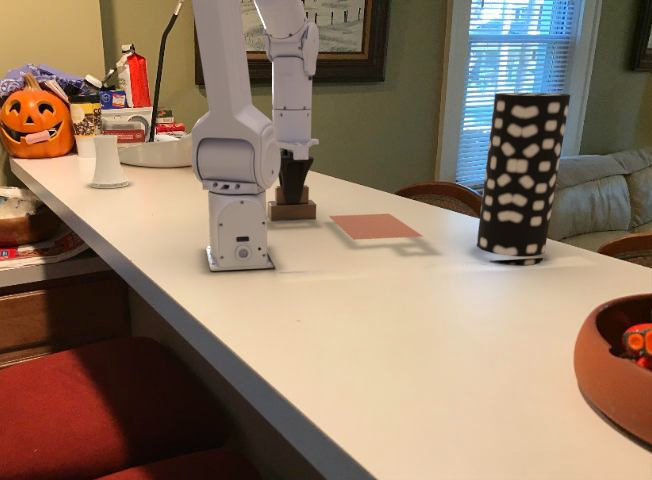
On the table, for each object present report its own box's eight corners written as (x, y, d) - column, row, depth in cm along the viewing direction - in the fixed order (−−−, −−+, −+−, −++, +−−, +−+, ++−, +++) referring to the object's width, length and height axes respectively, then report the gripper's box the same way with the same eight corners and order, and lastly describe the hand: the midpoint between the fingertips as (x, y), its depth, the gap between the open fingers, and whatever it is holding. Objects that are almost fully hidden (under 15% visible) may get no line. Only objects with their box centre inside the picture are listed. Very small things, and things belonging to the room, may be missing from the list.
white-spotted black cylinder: (500, 267, 75) (524, 96, 67) (463, 249, 82) (481, 93, 75) (557, 262, 77) (587, 95, 69) (516, 244, 84) (538, 92, 77)
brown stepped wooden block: (271, 228, 93) (271, 189, 91) (267, 223, 96) (267, 185, 94) (315, 226, 94) (316, 187, 92) (310, 221, 97) (311, 183, 95)
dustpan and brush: (190, 154, 170) (189, 119, 167) (254, 170, 145) (254, 129, 142) (111, 161, 158) (108, 124, 155) (166, 180, 133) (163, 135, 129)
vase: (85, 184, 128) (79, 135, 124) (118, 180, 132) (113, 133, 129) (101, 189, 122) (95, 138, 119) (134, 185, 127) (130, 136, 123)
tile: (422, 244, 84) (423, 236, 84) (353, 247, 83) (353, 239, 83) (388, 220, 97) (389, 213, 97) (328, 223, 96) (328, 215, 95)
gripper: (330, 112, 83) (327, 210, 88) (308, 105, 96) (306, 191, 101) (279, 112, 82) (279, 212, 87) (264, 106, 95) (264, 192, 100)
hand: (291, 201), depth 94 cm, fingers closed
